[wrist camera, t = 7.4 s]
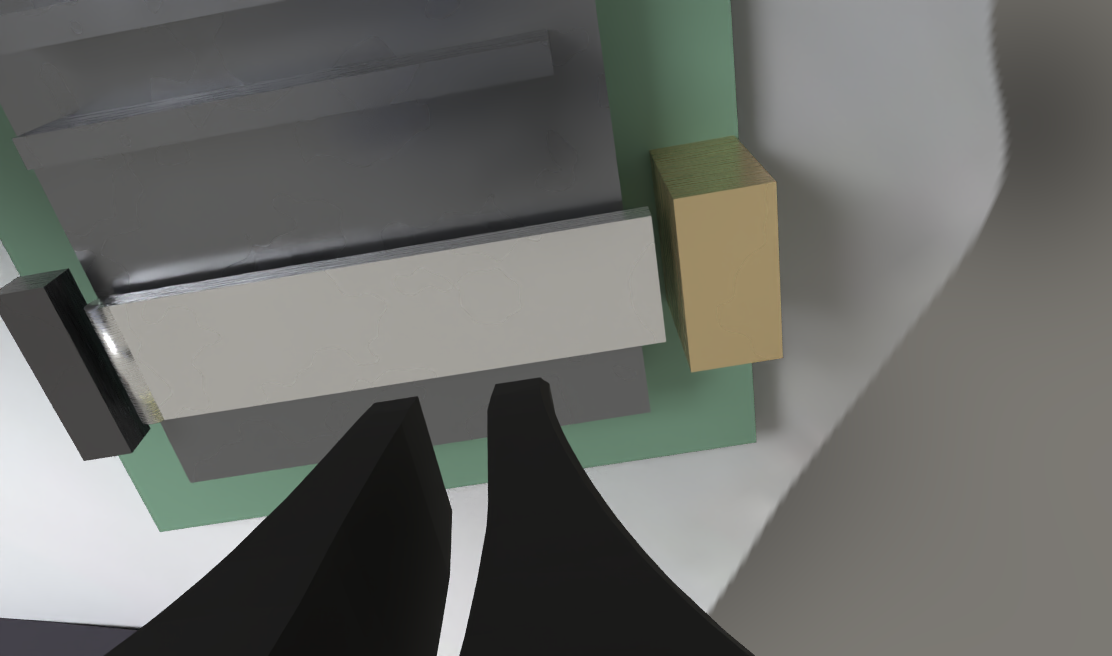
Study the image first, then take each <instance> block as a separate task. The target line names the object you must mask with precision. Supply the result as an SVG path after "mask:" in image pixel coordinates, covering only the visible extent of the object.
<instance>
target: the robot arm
mask: <svg viewBox="0 0 1112 656" xmlns="http://www.w3.org/2000/svg"><path fill="white" fill-rule="evenodd" d="M487 448H488V514H487V527H486V533H485V539H484V545H483V550H482V556H481V561H480V567H479V573H478V578H477V583H476V587H475V592H474V597H473V601H472V606H471V610H470V615H469V619H468V624H467V628H466V633H465V637H464V641H463V644H462V648H461V652H460V655H459V656H755V655H754V654H752V653H751V652H750V651H749V650H747V649H746V648H745V647H744V646H743V645H741V644H740V643H739V642H738V641H737V640H735V639H734V638H733V637H732V636H731V635H729V634H728V633H727V632H726V631H725V630H724V629H722V628H721V627H720V626H719V625H718V624H717V623H716V622H715V621H714V620H713V619H712V618H711V617H710V616H709V615H708V614H707V613H705V612H704V611H703V610H702V609H701V608H700V607H699V606H698V605H697V604H696V603H695V602H694V601H693V600H692V599H691V598H690V597H688V596H687V595H686V594H685V593H684V592H683V591H682V590H681V589H680V588H679V587H678V586H677V585H676V584H675V583H674V582H673V581H672V580H671V579H670V578H669V577H668V576H667V575H666V574H665V573H664V572H663V571H662V570H661V569H660V568H659V566H658V565H657V564H656V563H655V562H654V561H653V560H652V559H651V558H650V557H649V556H648V554H647V553H646V552H645V551H644V550H643V549H642V548H641V546H640V545H639V544H638V543H637V542H636V540H635V539H634V538H633V537H632V536H631V535H630V533H629V532H628V531H627V530H626V529H625V527H624V526H623V525H622V523H621V522H620V521H619V520H618V518H617V517H616V516H615V514H614V513H613V512H612V510H611V509H610V508H609V506H608V505H607V503H606V502H605V501H604V499H603V498H602V496H601V495H600V493H599V492H598V490H597V489H596V488H595V486H594V485H593V483H592V482H591V480H590V478H589V477H588V475H587V474H586V472H585V471H584V469H583V467H582V466H581V464H580V462H579V460H578V458H577V457H576V455H575V453H574V451H573V450H572V448H571V446H570V444H569V442H568V441H567V439H566V437H565V435H564V433H563V431H562V428H561V426H560V424H559V421H558V419H557V416H556V414H555V409H554V404H553V399H552V394H551V389H550V384H549V383H548V382H546V381H545V380H543V379H542V378H540V377H538V378H532V379H525V380H519V381H512V382H506V383H499V384H495V387H494V389H493V392H492V395H491V398H490V402H489V406H488V409H487ZM451 530H452V509H451V506H450V502H449V499H448V496H447V492H446V489H445V486H444V482H443V479H442V475H441V472H440V469H439V465H438V462H437V459H436V455H435V452H434V448H433V445H432V442H431V438H430V435H429V432H428V428H427V425H426V422H425V418H424V415H423V411H422V408H421V405H420V401H419V398H418V396H415V397H409V398H402V399H396V400H389V401H383V402H376V403H374V404H373V405H372V406H371V407H370V408H369V409H368V410H367V411H366V412H365V413H364V414H363V415H362V416H361V417H360V418H359V419H358V420H357V421H356V422H355V423H354V425H353V426H352V427H351V428H350V429H349V430H348V431H347V432H346V433H345V434H344V436H343V437H342V438H341V439H340V440H339V441H338V442H337V443H336V444H335V446H334V447H333V448H332V449H331V450H330V451H329V452H328V453H327V455H326V456H325V457H324V458H323V459H322V460H321V461H320V462H319V463H318V464H317V465H316V466H315V468H314V469H313V470H312V471H311V472H310V473H309V474H308V475H307V476H306V477H305V478H304V479H303V481H302V482H301V483H300V484H299V485H298V486H297V487H296V488H295V489H294V490H293V491H292V492H291V493H290V495H289V496H288V497H287V498H286V499H285V500H284V501H283V502H282V503H281V504H280V505H279V506H278V507H277V508H276V509H274V510H273V511H272V512H271V513H270V514H269V515H268V516H267V517H266V518H265V519H264V520H263V521H262V522H261V523H260V524H259V525H258V526H257V527H256V528H255V529H254V530H253V531H252V532H251V533H250V534H249V535H248V536H247V537H246V538H245V539H244V540H243V541H242V542H241V543H240V544H239V545H238V546H237V547H236V548H235V549H234V550H233V551H232V552H231V553H230V554H229V555H227V556H226V557H225V558H224V559H223V560H222V561H221V562H220V563H219V564H218V565H216V566H215V567H214V568H213V569H212V570H211V571H210V572H209V573H207V574H206V575H205V576H204V577H203V578H202V579H201V580H199V581H198V582H197V583H196V584H195V585H193V586H192V587H191V588H190V589H189V590H187V591H186V592H185V593H184V594H183V595H181V596H180V597H179V598H178V599H177V600H175V601H174V602H173V603H172V604H171V605H169V606H168V607H167V608H166V609H165V610H163V611H162V612H161V613H160V614H158V615H157V616H156V617H155V618H153V619H152V620H151V621H150V622H148V623H147V624H146V625H144V626H143V627H142V628H140V629H139V630H138V631H136V632H135V633H133V634H132V635H131V636H129V637H128V638H127V639H125V640H124V641H123V642H121V643H120V644H118V645H117V646H116V647H114V648H113V649H112V650H110V651H109V652H108V653H106V654H105V655H104V656H437V651H438V645H439V639H440V633H441V627H442V621H443V615H444V609H445V603H446V597H447V591H448V584H449V578H450V559H451Z"/></svg>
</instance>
